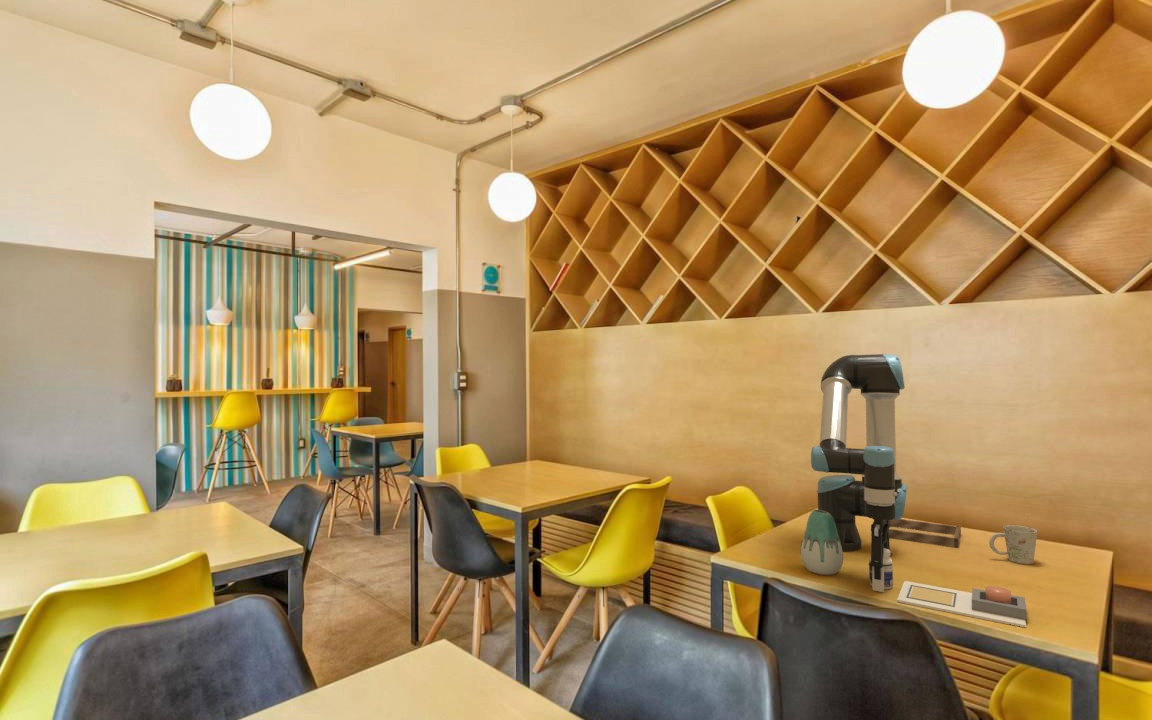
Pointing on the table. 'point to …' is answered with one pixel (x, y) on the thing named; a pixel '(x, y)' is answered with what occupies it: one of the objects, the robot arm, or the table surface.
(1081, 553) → the table surface
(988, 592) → the button
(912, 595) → the white base plate
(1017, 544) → the mug
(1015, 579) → the table surface
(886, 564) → the pill bottle
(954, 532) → the book tray
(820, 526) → the vase
